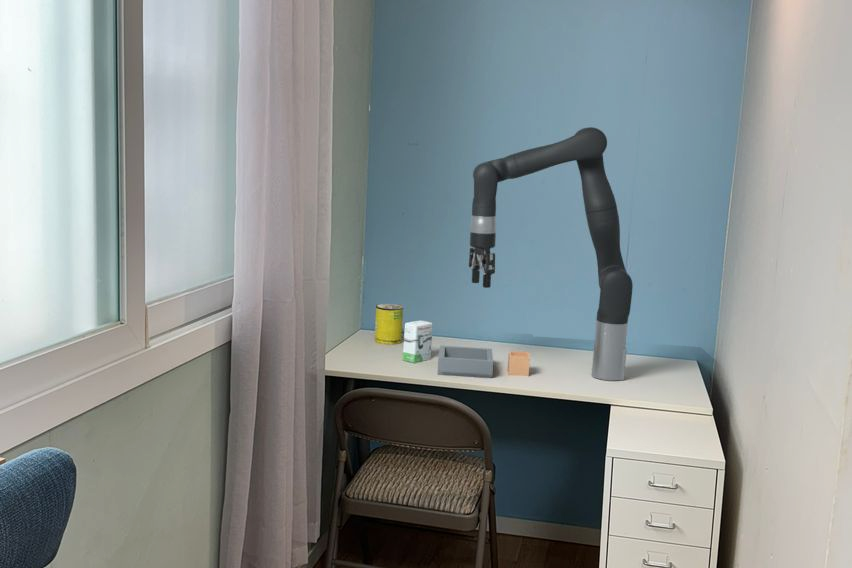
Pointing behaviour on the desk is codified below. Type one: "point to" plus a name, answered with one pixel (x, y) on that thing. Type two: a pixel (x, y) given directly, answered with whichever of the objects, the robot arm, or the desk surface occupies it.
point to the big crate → (465, 361)
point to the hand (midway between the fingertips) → (480, 285)
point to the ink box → (417, 341)
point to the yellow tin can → (388, 324)
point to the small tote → (518, 363)
